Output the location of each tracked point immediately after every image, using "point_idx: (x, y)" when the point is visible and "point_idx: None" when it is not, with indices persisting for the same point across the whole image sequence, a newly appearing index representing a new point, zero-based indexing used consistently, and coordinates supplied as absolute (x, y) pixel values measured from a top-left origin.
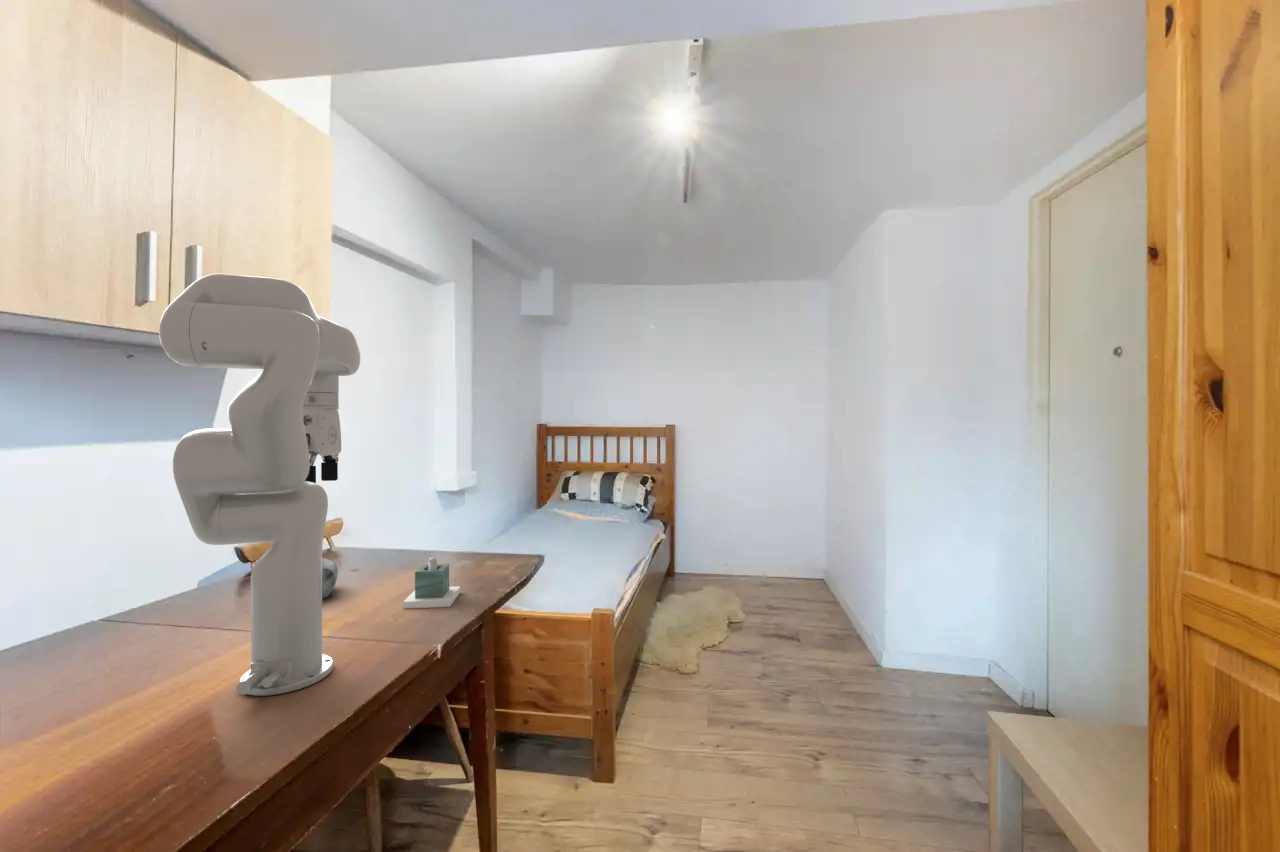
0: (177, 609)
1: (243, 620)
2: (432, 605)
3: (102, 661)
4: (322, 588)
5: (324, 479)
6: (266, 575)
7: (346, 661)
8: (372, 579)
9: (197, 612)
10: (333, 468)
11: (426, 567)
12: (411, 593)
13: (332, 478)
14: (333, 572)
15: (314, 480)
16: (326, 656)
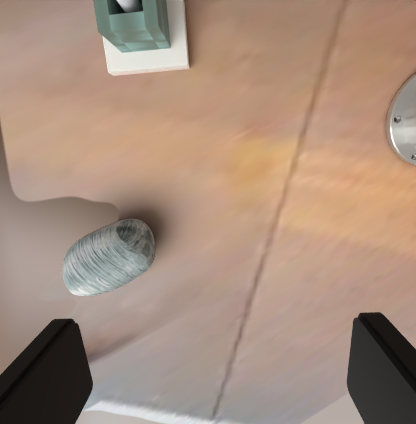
0: (182, 373)
1: (226, 281)
2: (184, 9)
3: (334, 342)
4: (146, 228)
5: (87, 378)
6: None
7: (402, 59)
8: (40, 196)
9: (193, 347)
10: (19, 409)
11: (113, 15)
12: (141, 69)
13: (73, 344)
14: (115, 228)
15: (400, 333)
16: (411, 84)
